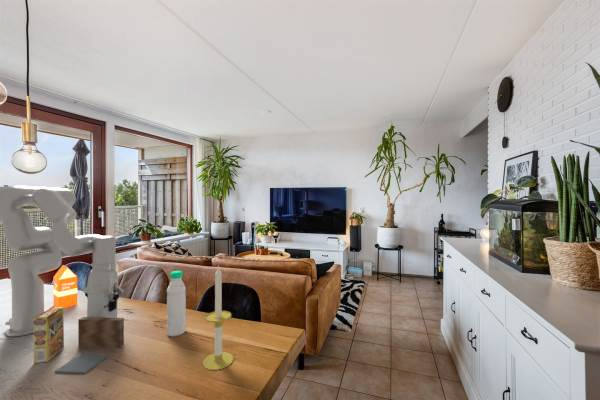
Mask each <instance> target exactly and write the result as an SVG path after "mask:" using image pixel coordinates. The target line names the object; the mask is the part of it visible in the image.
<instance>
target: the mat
mask: <svg viewBox="0 0 600 400" xmlns="http://www.w3.org/2000/svg"><path fill="white" fill-rule="evenodd" d="M110 355H111V354H110V353H95V352H92V353H91V352H82V353H80V354H78V355H77V356H75V357H74V358H72V359H70V360H69V361H67V362H66V363H64V364H63V365H61V366H60V367H59V368H57V369H55V370H54V373H55V374H76V375H78V374H79V375H86V374H87V373H88V372H90V371H91V370H92V369H94V368H96V367H97V366H98V365H99V364H101V363H102V362H103V361H104V360H106V359H107V358H108V357H110Z"/></svg>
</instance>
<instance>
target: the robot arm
mask: <svg viewBox="0 0 600 400" xmlns="http://www.w3.org/2000/svg"><path fill="white" fill-rule="evenodd" d="M76 197H77V196H76V195H75V193H74V192H73V191H72V190H71V189H69V188H64V187H62V188H61V187H51V186H50V187H48V186H34V185H33V186H31V185H30V186H29V185H8V186H4V187H1V188H0V220H1V224H2V228H3V231H4V236H5V240H6V244H7V247H8V248H9V250H11V251H13V252H25V251H26V252H27V251H33V250H37V251H34V252H30V253H29V252H28V253H23V254H21V255H18V256H16V257H14V258H12V259H11V260H10V261H9V262H8V265H7V271H8V274H9V278H10V284H11V318H9V320H8V321H6V322H5V323H4V325H5V326H9V328H8V329H7V330H6V333H5V335H6V336H7V337H12V338H13V337H14V338H15V337H22V336H27V335H32V334H34V317H37V316H38V315H40V314H42V313H43V312H45V284H44V281H43V280H42V279H41V277H40V276H39V275H41V274H44V273H49V272H52V271H54V270H56V269H58V268H60V266H62V261H63V259H62V257H63V256H62V253H64V254H65V255H67V256H69V257H76V256H81V255H86V254H91V253H92V262H91V263H90V267H92V269H91V270H89V275H88V278H87V285H86V286H85V287H83V289H82V291H83V293H84V296H85V297H86V298H87V301H88V293H103V294H106V296H109V298H110V300H111V301H110V302H109V311H110V312H111V311H113V310H115V309H116V307H117V308H118V304H117V299H118V300H119V298H120V297H121V296H122V295H123V293H124V292H125V290H124V289H123V288H122V287H120V286H119V277H118V271H117V268H116V253H117V252H116V250H117V249H116V247H117V245H116V243H117V239H116V237H115V236H114V235H101V234H97V233H91V234H90V233H89V234H83V235H74V234H73V233H72V232H71V231H70V229H69V228H68V225H69V224H71V223H72V222H73V221H75V219H76V218H77V217H78V216H77V215H78V213H77V212H76V210H75V209H74V208H73V207H72V206H74V205H75V203H76V201H77V198H76ZM22 207H38V208H39V210H40V211H41V212H42V213H43V214H44V215H45V216H46V217H47V218H48V220H49V221H50V222H51V224H52V227H48V226H36V227H35V226H34V225H33V221H32V217H31V216H30V214H29V213H28V212H27V211H26V210H24V209H23V208H22ZM115 290H116V291H115ZM113 291H114V292H113ZM116 292H118V293H117V294H116ZM113 294H114V297H113V296H112V295H113Z"/></svg>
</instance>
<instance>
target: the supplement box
mask: <svg viewBox="0 0 600 400" xmlns="http://www.w3.org/2000/svg"><path fill="white" fill-rule="evenodd" d="M115 291H116V290H115ZM113 292H114V291H113ZM117 293H118V292H116V294H117ZM112 296H113V297H114V294H113V295H112ZM110 301H111V300H110V298H109V296H106V294H103V293H88V300H87V302H86V303H87V307H86V310H87V311H86V317H102V318H118V306H117V307H116V309H115V310H113V311H111V312H110V311H109V302H110ZM118 301H119V298H118V299H117V305H118V304H119V302H118Z"/></svg>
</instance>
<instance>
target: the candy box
mask: <svg viewBox="0 0 600 400" xmlns="http://www.w3.org/2000/svg"><path fill="white" fill-rule="evenodd" d="M64 325H65V324H64V308H63V307H55V306H54V307H50V308H48V309H47V310H44V312H43V313H42V314H40V315H38V316H37V317H34V333H33V356H34V357H33V363H34V364H39V363H46V362H49V361H50V360H51V359H53V358H54V357H55V356H56V355H57V354H58V353H60V352H61V351H62V350H63V349H64V348H65V340H64V339H65V338H64V337H65V334H64V332H65V329H64Z"/></svg>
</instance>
